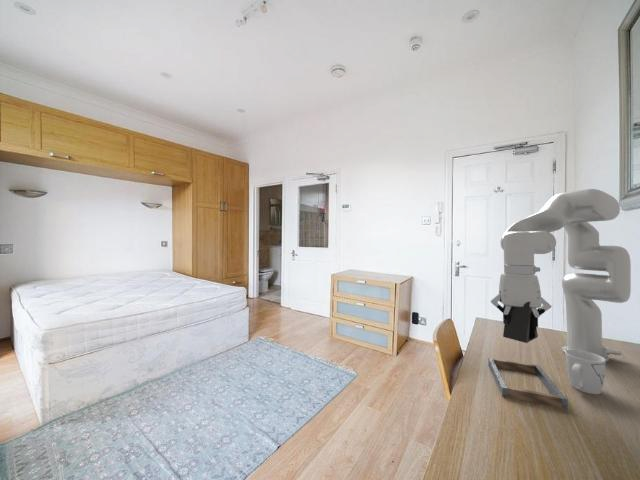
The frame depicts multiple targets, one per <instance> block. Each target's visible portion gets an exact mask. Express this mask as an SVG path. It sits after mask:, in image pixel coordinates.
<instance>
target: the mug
mask: <svg viewBox="0 0 640 480" xmlns="http://www.w3.org/2000/svg"><path fill="white" fill-rule="evenodd" d="M564 354H565V355H564V357H565V365H566V369H567V370H566V371H567V375H568V378H569V382H570V385H571V386H572V388H574V389H576V390H577V391H578V392H579V391H580V392H582V393H585V394H590V395H600V394H601V393H602V390H603V388H604V387H603V386H604V382H605V377H606V365H607V364H606V363H607V362H606V360H605V359H604V358H603V357H601V356H599V355H597V354H594V353H590V352H586V351H581V350H566V351H565V353H564Z"/></svg>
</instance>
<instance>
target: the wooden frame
mask: <svg viewBox="0 0 640 480" xmlns="http://www.w3.org/2000/svg"><path fill="white" fill-rule="evenodd" d="M487 361H488V366H489V369H490V371H491V374H492V377H494V380H495V382H496V385H497V387H498V389H499V391H500V394H501V396H502V397H505V398H510V399H515V400H520V401H525V402H529V403H535V404H540V405H546V406H550V407H551V406H552V407H555V408H561V409H566V410H568V409H569V405H568V404H569V403H568V398H567V397H566V396H565V394H564V393H563V392H562V391H561V390H560V389H559V388H558V387H557V385H556V384H555V383H554V381H553V380H552V379H551V378H550V377H549V376H548V374H547V373H546V371H544V369H542V367H541V366H540V365H539V364H533V363H527V362H519V361H513V360H505V359H500V358H499V359H498V358H491V357H488V359H487ZM499 369H506V370H512V371H515V372H516V371H517V372H525V373H530V374H535V375H536V376H537V378H539V380H540V381H541V383H542V384H543V385H544V387H545V388H546V389H547V390H548V391H549V393H547V392H546V393H545V392H541V391H540V392H539V391H536V390H534V391H533V390H529V389H523V388H518V387H513V386H506V383H505V381H504V379H503V377H502V375H501V373H500V371H499Z"/></svg>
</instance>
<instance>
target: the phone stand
mask: <svg viewBox="0 0 640 480" xmlns="http://www.w3.org/2000/svg"><path fill="white" fill-rule="evenodd" d="M509 315H510V323H509V325H508V322H507V319H506V321H505V324H504V325H503V326H504V327H503V333H502V337H503V338H506V339H510V340H514V341H517V342H522V343H525V344H528V343H529V342H532V341H533V340H535V339H537V338H538V337H539V334H538V329H537V328H538V327H536V331H534V330H532V329H531V321H532V317H533V312H532V309H531V308H530V302H527V303H525V304H524V305H523V307H512V306H511V308H510V311H509Z"/></svg>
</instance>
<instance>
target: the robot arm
mask: <svg viewBox="0 0 640 480" xmlns="http://www.w3.org/2000/svg"><path fill="white" fill-rule="evenodd" d="M620 212H621V206H620V202H619V201H618V200H617V199H616V198H615V197H614V196H612V195H610V194H609V193H607V192H606V191H603V190H600V189H596V188H587V189H581V190H573V191H565V192H560V193H557V194H555V195H553V196H551V198H549V200H548V201H547V202H545V204H544V205H542V207H541V208H540V209H539V211H538V212H536V213H534V214H532V215H531V214H530V215H529V216H527V217H525V218H523V219H521V220H518V221H516V222H514V223H513V224H511V225H510V226H509V227H508V228H507V229H506V230H505V232H504V233H503V234H502V236H501V238H500V248H501V249H502V250H503V271H504V272H503V273H501V274H500V278H499V285H498V294H496V296H495V297H493V298H492V299H491V300H490V303H491V304H492V305H493V306H494V307H495V308H497V309H498V310H499V311H500V312H501V313H502V322H503V324H504V325H505V321H506V319H507V322H508V325H509V323H510V315H509V311H510V308H511V306H512V307H523V305H524V304H525V303H527V302H530V308H531V309H532V312H533V317H532V321H531V329H532V330H534V331H536V328H538V327H539V318H540V317H541V316H542V315H543V314H544V313H545V312H546V311H549V309H551V308H552V305H551V304H550V303H549V302H548V301H546V300H545V299H544V298H543V297H542V291H541V286H540V280H539V278H538V275H537V274H536V273H537V272H541V267H538V266H536V265H535V255H546V254H549V253H551V252H553V251H554V250H555V248H556V246H557V239H556V237H555V235H554V234H552V233H553V232H556V231H559V230H562V228H564V229H565V231H566V233H567V262H568V265H569V267H570V268H573V269H575V270H579V271H580V270H582V271H594V272H595V271H596V272H607V273H608V275H607V274H595V273H594V274H593V273H583V272H580V273H579V272H574V273H572V272H571V273H568V274H566V275H564V276H563V277H562V280H561V285H562V291H563V293H564V300H565V311H566V312H565V314H566V317H565V318H566V319H565V320H566V344H567V345H564V346H562V347H561V350H562V352H563V353H564V354H565V351H566V350H581V351H586V352H590V353H594V354H597V355H599V356H601V357H603V358H604V359H605V360H606V363H607V362H609V361H610V355H613V356H622V355H623V354H622V351H621V350H620V349H615V348H614V349H613V348H612V347H608V346H607V347H606V346H604V345H603V320H602V318H603V317H602V316H603V315H602V310H601V308H600V307H599V306H598V305H597V303H596V302H595V301H601V302H607V303H609V302H610V303H616V304H617V303H619V304H622V303H626V302H628V300H630V297H631V288H632V287H631V284H632V282H631V277H632V276H631V275H632V273H631V269H632V268H631V267H632V266H631V263H632V262H631V257H630V253H629V251H628V250H627V249H626V248H624V247H623V246H619V245H600V232H599V231H598V230H597V228H595V226H593V224H590V222H606V221H612V220H615V219H616V218H617V217H619V215H620ZM535 274H536V275H535ZM498 302H499V303H501V304H502V305H503V306H502V305H501V304H499V303H498Z"/></svg>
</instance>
